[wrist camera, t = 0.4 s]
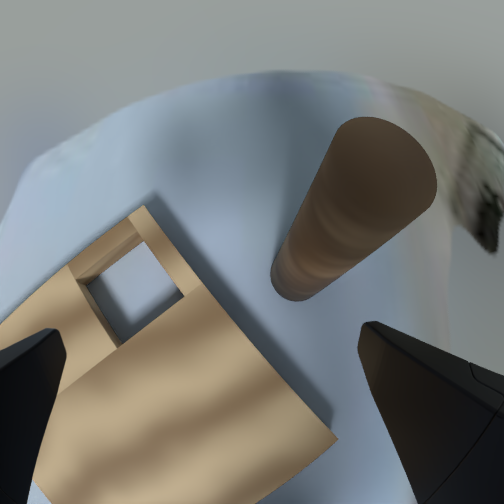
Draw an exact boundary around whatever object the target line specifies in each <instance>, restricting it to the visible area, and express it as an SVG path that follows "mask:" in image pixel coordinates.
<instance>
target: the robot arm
mask: <svg viewBox="0 0 504 504" xmlns="http://www.w3.org/2000/svg"><path fill="white" fill-rule="evenodd" d="M358 354H359V357H360V360H361V363H362V366H363V369H364V372H365V376H366V379H367V382H368V385H369V388H370V391H371V394H372V396H373V398H374V401H375V403H376V405H377V407H378V409H379V412H380V414H381V416H382V418H383V421H384V423H385V425H386V428H387V430H388V432H389V434H390V437H391V439H392V441H393V444H394V446H395V448H396V451H397V453H398V456H399V458H400V460H401V463H402V465H403V468H404V470H405V472H406V475H407V477H408V480H409V482H410V485H411V487H412V490H413V492H414V495H415V498H416V500H417V503H418V504H504V376H503V375H500V374H498V373H495V372H492V371H490V370H488V369H485V368H483V367H480V366H478V365H476V364H473V363H471V362H470V363H469V362H468V361H466V360H464V359H462V358H459V357H457V356H455V355H452V354H450V353H448V352H445V351H443V350H441V349H439V348H436V347H434V346H432V345H430V344H427V343H425V342H423V341H420V340H418V339H416V338H414V337H411V336H409V335H407V334H405V333H402V332H400V331H398V330H396V329H393V328H391V327H389V326H387V325H384V324H382V323H380V322H378V321H371V322H365V323H364V324H363V325H362V327H361V332H360V337H359V341H358ZM66 359H67V353H66V349H65V346H64V343H63V340H62V337H61V334H60V332H59V330H58V329H55V328H45V329H43V330H41V331H39V332H37V333H35V334H33V335H31V336H29V337H27V338H25V339H23V340H21V341H18V342H16V343H14V344H12V345H10V346H8V347H6V348H4V349H2V350H0V504H27V500H28V495H29V491H30V486H31V482H32V478H33V474H34V470H35V466H36V462H37V458H38V454H39V451H40V447H41V444H42V440H43V437H44V434H45V431H46V427H47V424H48V421H49V418H50V415H51V412H52V409H53V406H54V403H55V400H56V397H57V393H58V389H59V385H60V381H61V377H62V374H63V370H64V366H65V362H66Z"/></svg>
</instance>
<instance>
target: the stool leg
mask: <svg viewBox="0 0 504 504" xmlns="http://www.w3.org/2000/svg"><path fill="white" fill-rule="evenodd" d="M436 192H437V179H436V173H435V170H434V167H433V164H432V162H431V160H430V158H429V156H428V155H427V153H426V152H425V150H424V149H423V147H422V146H421V145H420V144H419V143H418V142H417V141H416V139H414V138H413V137H412V136H411V135H410V134H409V133H407V132H406V131H405V130H403V129H402V128H400V127H399V126H397V125H395V124H393V123H391V122H388V121H386V120H383V119H379V118H374V117H358V118H354V119H351V120H349V121H347V122H345V123H344V124H342V125H341V126H340V128H339V129H338V130H337V132H336V134H335V136H334V138H333V140H332V142H331V144H330V146H329V149H328V151H327V153H326V155H325V157H324V159H323V161H322V163H321V166H320V168H319V170H318V172H317V174H316V176H315V178H314V180H313V182H312V185H311V187H310V189H309V191H308V193H307V195H306V197H305V199H304V201H303V203H302V205H301V207H300V209H299V212H298V214H297V216H296V218H295V220H294V222H293V224H292V226H291V228H290V230H289V232H288V234H287V236H286V238H285V240H284V242H283V244H282V246H281V248H280V250H279V252H278V254H277V256H276V258H275V260H274V262H273V265H272V267H271V272H270V277H271V282H272V285H273V287H274V289H275V290H276V291H277V293H278V294H279V295H281V296H282V297H284V298H285V299H288V300H291V301H304V300H307V299H309V298H311V297H312V296H314V295H315V294H316V293H318V292H319V291H321V290H322V289H324V288H325V287H326V286H328V285H329V284H331V283H332V282H333V281H335V280H336V279H338V278H339V277H340V276H342V275H343V274H344V273H346V272H347V271H349V270H350V269H351V268H353V267H354V266H355V265H357V264H358V263H359V262H361V261H362V260H363V259H365V258H366V257H367V256H369V255H370V254H371V253H373V252H374V251H375V250H377V249H378V248H379V247H381V246H382V245H383V244H384V243H386V242H387V241H388V240H390V239H391V238H392V237H393V236H395V235H396V234H397V233H399V232H400V231H401V230H402V229H404V228H405V227H406V226H407V225H409V224H410V223H411V222H412V221H414V220H415V219H416V218H417V217H418V216H420V215H421V214H422V213H423V212H425V211H426V210H427V209H428V208H429V207H430V206H431V204H432V203H433V201H434V199H435V196H436Z"/></svg>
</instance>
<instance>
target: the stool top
mask: <svg viewBox="0 0 504 504" xmlns="http://www.w3.org/2000/svg"><path fill="white" fill-rule="evenodd" d="M143 241H145V243H146V244H147V246H148V247H149V249H150V250H151V251H152V253H153V254H154V256H155V257H156V258H157V260H158V261H159V263H160V264H161V265H162V267H163V268H164V269H165V271H166V272H167V273H168V275H169V276H170V278H171V279H172V280H173V282H174V283H175V284H176V286H177V287H178V288H179V290H180V291H181V292H182V293H183V295H184V296H185V297H183V298H182V299H181V300H179V301H178V302H177V303H175V304H174V305H173V306H172V307H170V308H169V309H168V310H166V311H165V312H164V313H162V314H161V315H160V316H159V317H157V318H156V319H155V320H153V321H152V322H151V323H150V324H148V325H147V326H146V327H144V328H143V329H142V330H140V331H139V332H138V333H137V334H135V335H134V336H133V337H131V338H130V339H129V340H127V341H126V342H125V343H124V344H122V343H121V341H120V340H119V338H118V337H117V335H116V334H115V332H114V331H113V329H112V328H111V326H110V324H109V323H108V321H107V320H106V318H105V317H104V315H103V313H102V312H101V310H100V309H99V307H98V305H97V304H96V302H95V300H94V299H93V297H92V295H91V294H90V292H89V290H88V288H87V287H86V285H87V284H89V283H90V282H91V281H92V280H94V279H95V278H96V277H97V276H99V275H100V274H101V273H102V272H104V271H105V270H106V269H107V268H109V267H110V266H111V265H113V264H114V263H115V262H116V261H118V260H119V259H120V258H122V257H123V256H124V255H126V254H127V253H128V252H129V251H131V250H132V249H133V248H135V247H136V246H137V245H139V244H140V243H141V242H143ZM45 328H55V329H58V330H59V332H60V334H61V337H62V340H63V343H64V346H65V349H66V353H67V359H66V362H65V366H64V370H63V374H62V377H61V381H60V385H59V389H58V393H57V397H56V400H55V403H54V406H53V409H52V412H51V415H50V418H49V421H48V424H47V427H46V431H45V434H44V437H43V440H42V444H41V447H40V451H39V454H38V458H37V462H36V466H35V470H34V474H33V478H32V479H33V481H34V482H35V483H36V485H37V486H38V487H39V488H40V490H41V491H42V492H43V493H44V495H45V496H46V497H47V498H48V500H49V501H50V502H51V503H52V504H255V503H257V502H258V501H260V500H261V499H263V498H264V497H266V496H267V495H269V494H270V493H272V492H273V491H275V490H276V489H277V488H279V487H280V486H282V485H283V484H284V483H286V482H287V481H288V480H290V479H291V478H292V477H294V476H295V475H296V474H298V473H299V472H300V471H302V470H303V469H304V468H305V467H307V466H308V465H309V464H310V463H312V462H313V461H314V460H315V459H316V458H318V457H319V456H320V455H321V454H322V453H324V452H325V451H326V450H327V449H328V448H329V447H331V446H332V445H333V444H334V443H335V442H336V441H337V440H338V438H337V437H336V436H335V435H334V434H333V433H332V432H331V431H330V430H329V429H328V428H327V426H326V425H325V424H324V423H323V422H322V421H321V420H320V419H319V418H318V417H317V416H316V415H315V414H314V413H313V412H312V410H311V409H310V408H309V407H308V406H307V405H306V404H305V403H304V402H303V401H302V400H301V399H300V397H299V396H298V395H297V394H296V393H295V392H294V391H293V390H292V389H291V387H290V386H289V385H288V384H287V383H286V382H285V381H284V380H283V378H282V377H281V376H280V375H279V374H278V373H277V372H276V371H275V369H274V368H273V367H272V366H271V365H270V364H269V363H268V361H267V360H266V359H265V358H264V357H263V356H262V354H261V353H260V352H259V351H258V350H257V349H256V347H255V346H254V345H253V344H252V343H251V342H250V340H249V339H248V338H247V337H246V336H245V334H244V333H243V332H242V331H241V330H240V328H239V327H238V326H237V325H236V324H235V322H234V321H233V320H232V319H231V318H230V316H229V315H228V314H227V313H226V312H225V310H224V309H223V308H222V307H221V305H220V304H219V303H218V302H217V300H216V299H215V298H214V297H213V295H212V294H211V293H210V292H209V290H208V289H207V288H206V287H205V285H204V284H203V283H202V282H201V280H200V279H199V278H198V277H197V275H196V274H195V273H194V271H193V270H192V269H191V268H190V266H189V265H188V264H187V262H186V261H185V260H184V259H183V257H182V256H181V255H180V253H179V252H178V251H177V249H176V248H175V247H174V245H173V244H172V243H171V241H170V240H169V239H168V237H167V236H166V235H165V233H164V232H163V231H162V229H161V228H160V227H159V225H158V224H157V223H156V221H155V220H154V219H153V217H152V216H151V214H150V213H149V212H148V210H147V209H146V208H145V206H144V205H143V206H141V207H140V208H139V209H137V210H136V211H134V212H133V213H132V214H130V215H129V216H128V217H126V218H125V219H123V220H122V221H121V222H119V223H118V224H117V225H115V226H114V227H113V228H111V229H110V230H109V231H108V232H106V233H105V234H104V235H102V236H101V237H100V238H98V239H97V240H96V241H95V242H93V243H92V244H91V245H90V246H88V247H87V248H86V249H85V250H83V251H82V252H81V253H80V254H78V255H77V256H76V257H75V258H74V259H72V260H71V261H70V262H69V263H67V264H66V265H65V266H64V267H63V268H62V269H60V270H59V271H58V272H57V273H56V274H55V275H53V276H52V277H51V278H50V279H49V280H48V281H46V282H45V283H44V284H43V285H42V286H41V287H40V288H39V289H37V290H36V291H35V292H34V293H33V294H32V295H31V296H30V297H29V298H28V299H26V300H25V301H24V302H23V303H22V304H21V305H20V306H19V307H18V308H17V309H16V310H15V311H14V312H13V313H12V314H11V315H10V316H9V317H8V318H7V319H6V320H4V321H3V322H2V323H1V324H0V350H2V349H4V348H6V347H8V346H10V345H12V344H14V343H16V342H18V341H21V340H23V339H25V338H27V337H29V336H31V335H33V334H35V333H37V332H39V331H41V330H43V329H45Z"/></svg>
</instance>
